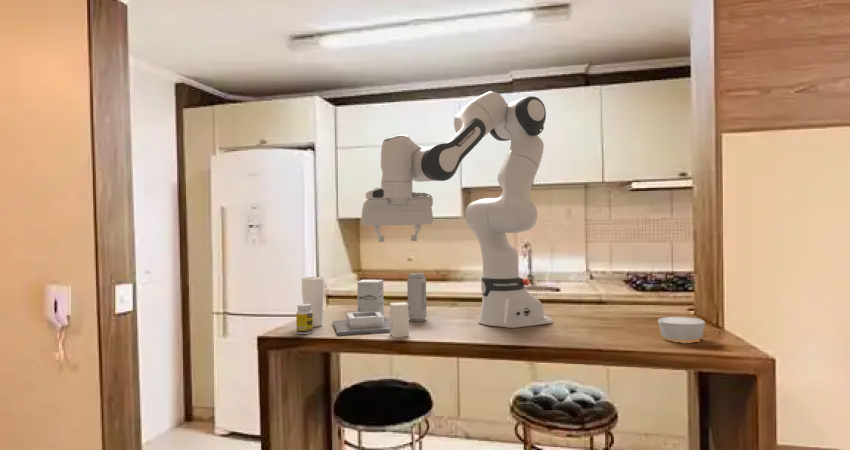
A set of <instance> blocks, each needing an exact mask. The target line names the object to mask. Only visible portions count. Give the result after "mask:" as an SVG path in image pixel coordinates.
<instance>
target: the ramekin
mask: <svg viewBox="0 0 850 450" xmlns="http://www.w3.org/2000/svg"><path fill="white" fill-rule="evenodd" d="M657 323H658V325H659V332H660V334H661V338H662V337H664V338H668V339H674V340H693V339H698V338H701V337H702V338H703V337H704V330H705V326H706V321H705V320H702V319H700V318H696V317H687V316H666V317H660V318H658V319H657Z"/></svg>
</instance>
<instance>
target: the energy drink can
mask: <svg viewBox="0 0 850 450" xmlns="http://www.w3.org/2000/svg"><path fill="white" fill-rule="evenodd" d="M424 274H425V273H422V272H411V273H408V277H407V279H406V280H407V281H406V282H407V304H408V311H409V322H424V321H425V320H426V318H427V279H426V277H425V275H424Z"/></svg>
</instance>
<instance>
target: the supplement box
mask: <svg viewBox="0 0 850 450" xmlns="http://www.w3.org/2000/svg"><path fill="white" fill-rule="evenodd" d="M356 290H357V295H356V297H357V312H369V311H379V312H380V313H381V314H382V315H383V316H384V279H360V280H359V281H357V289H356Z"/></svg>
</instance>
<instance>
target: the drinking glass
mask: <svg viewBox="0 0 850 450" xmlns="http://www.w3.org/2000/svg"><path fill="white" fill-rule="evenodd" d="M324 280H325V278H324V277H323V276H311V277H310V276H307V277H302V278H301V295H302V296H301V297H302V304H311V311H312V312H313V328H317V327H322V325H323V312H324V296H325V295H324V293H325V281H324Z"/></svg>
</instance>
